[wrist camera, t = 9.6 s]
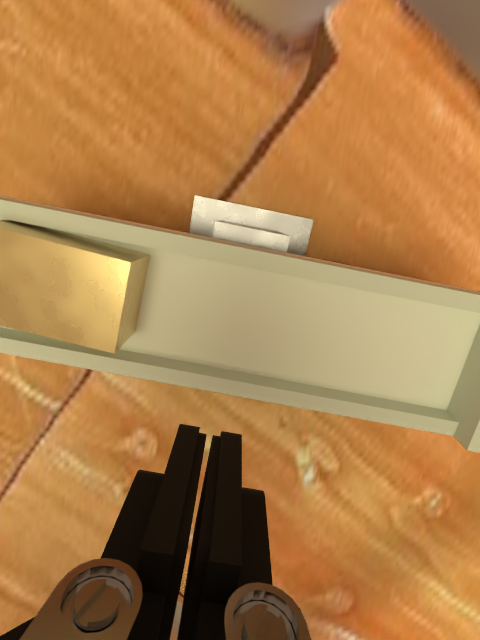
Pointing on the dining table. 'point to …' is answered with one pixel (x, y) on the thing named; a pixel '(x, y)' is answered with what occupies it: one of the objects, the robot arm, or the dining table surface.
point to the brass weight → (69, 286)
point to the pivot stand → (250, 225)
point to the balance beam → (281, 328)
